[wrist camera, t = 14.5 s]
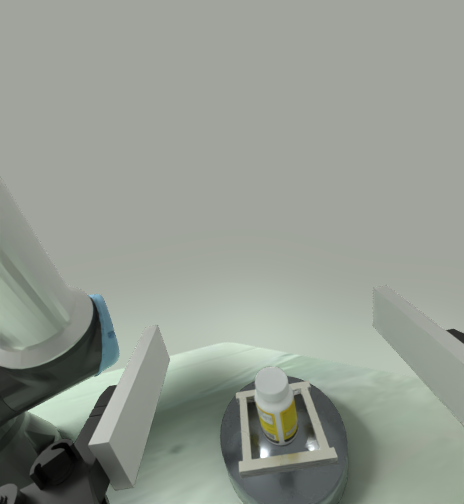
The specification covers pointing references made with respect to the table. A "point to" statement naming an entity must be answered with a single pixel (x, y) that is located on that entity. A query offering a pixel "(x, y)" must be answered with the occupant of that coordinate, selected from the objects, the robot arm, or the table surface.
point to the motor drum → (286, 451)
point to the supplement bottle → (276, 406)
